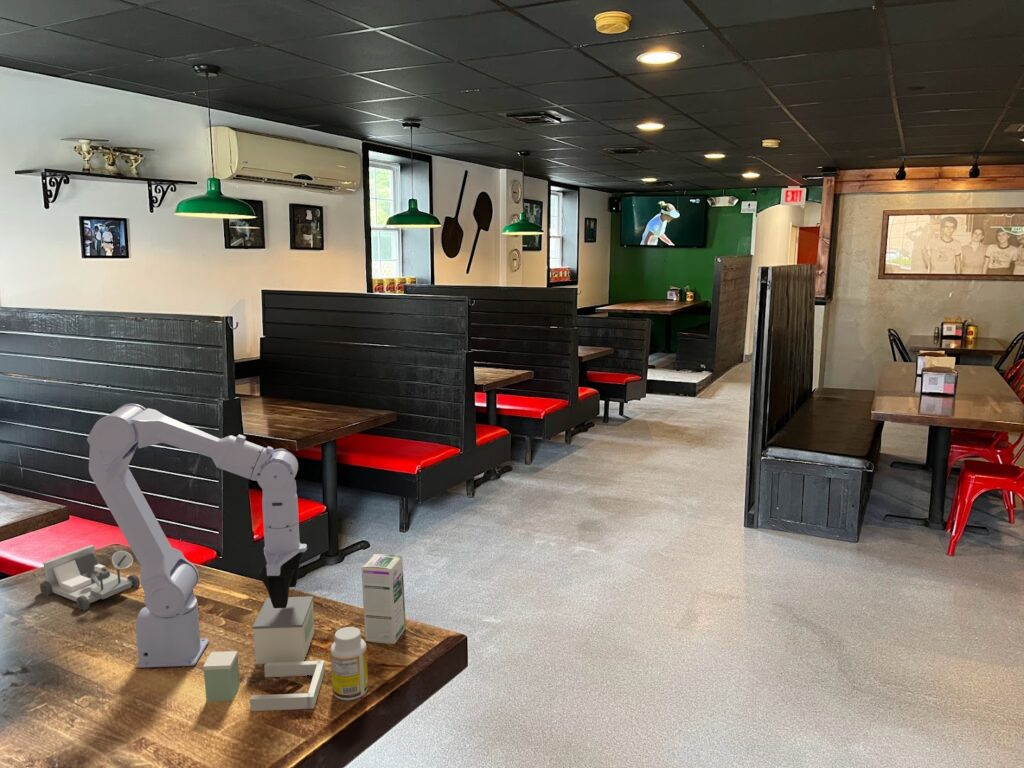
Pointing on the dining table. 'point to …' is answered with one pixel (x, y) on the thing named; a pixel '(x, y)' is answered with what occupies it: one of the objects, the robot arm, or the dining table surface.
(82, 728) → the dining table surface
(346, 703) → the dining table surface
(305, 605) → the box
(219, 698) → the block
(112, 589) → the toy car
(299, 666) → the dock
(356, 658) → the supplement bottle
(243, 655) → the dining table surface
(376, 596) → the syrup box
